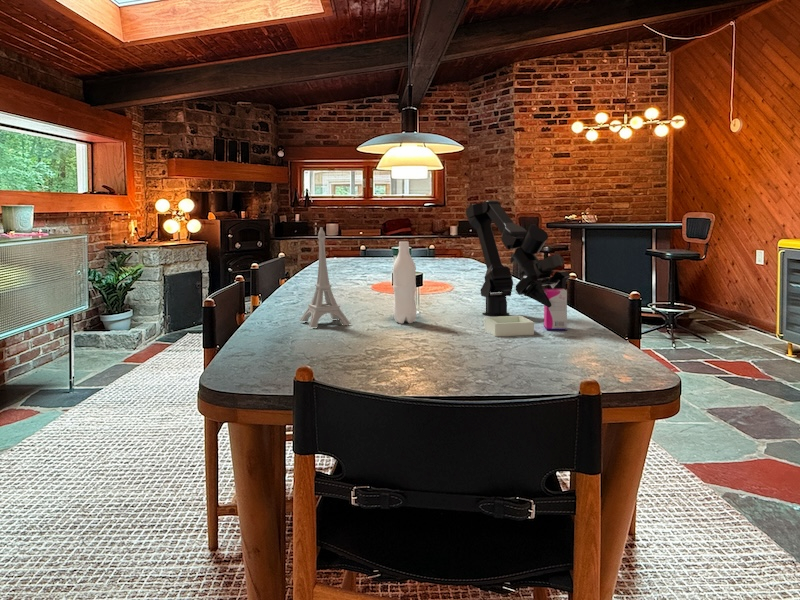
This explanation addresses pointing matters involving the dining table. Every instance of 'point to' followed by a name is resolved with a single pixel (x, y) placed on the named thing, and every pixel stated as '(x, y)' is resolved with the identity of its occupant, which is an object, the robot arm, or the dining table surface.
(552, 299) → the supplement box
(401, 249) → the water bottle
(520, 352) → the dining table surface
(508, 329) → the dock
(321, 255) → the eiffel tower
